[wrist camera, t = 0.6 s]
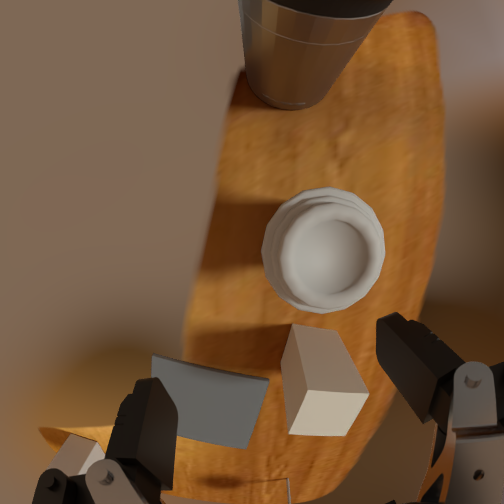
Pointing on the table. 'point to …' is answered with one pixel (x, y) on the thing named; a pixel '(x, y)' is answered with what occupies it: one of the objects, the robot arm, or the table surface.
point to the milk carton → (77, 455)
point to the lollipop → (288, 490)
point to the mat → (211, 401)
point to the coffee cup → (323, 250)
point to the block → (320, 383)
